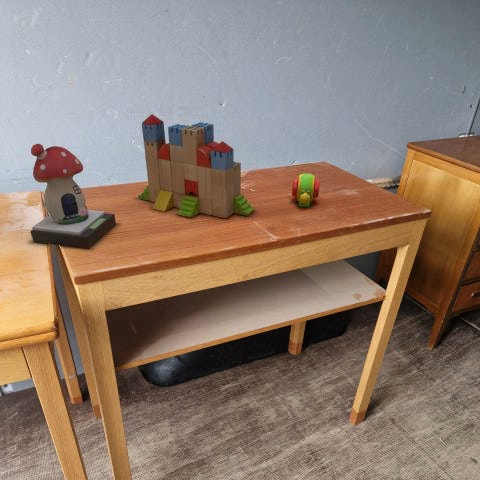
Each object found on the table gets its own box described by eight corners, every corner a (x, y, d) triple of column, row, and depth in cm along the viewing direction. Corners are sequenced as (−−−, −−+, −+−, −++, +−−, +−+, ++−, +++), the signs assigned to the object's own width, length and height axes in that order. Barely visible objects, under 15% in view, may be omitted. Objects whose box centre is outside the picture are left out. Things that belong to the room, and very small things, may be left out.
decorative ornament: (47, 228, 86) (27, 148, 77) (42, 216, 90) (22, 139, 81) (96, 219, 89) (82, 142, 81) (88, 209, 94) (73, 134, 85)
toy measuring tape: (289, 209, 104) (292, 181, 100) (294, 182, 119) (296, 157, 116) (317, 211, 103) (320, 183, 99) (318, 184, 119) (321, 159, 115)
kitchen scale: (33, 242, 87) (29, 228, 86) (65, 219, 97) (62, 205, 95) (89, 248, 85) (86, 234, 84) (116, 224, 95) (114, 211, 93)
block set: (260, 207, 105) (264, 119, 93) (231, 228, 94) (232, 132, 83) (164, 186, 115) (157, 105, 104) (128, 203, 105) (116, 115, 94)
